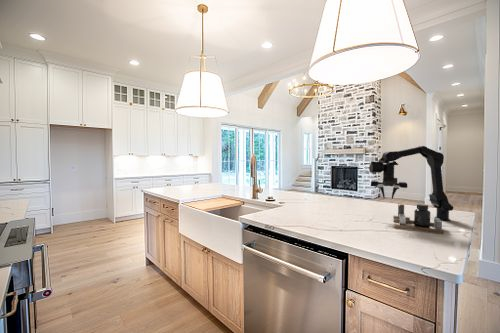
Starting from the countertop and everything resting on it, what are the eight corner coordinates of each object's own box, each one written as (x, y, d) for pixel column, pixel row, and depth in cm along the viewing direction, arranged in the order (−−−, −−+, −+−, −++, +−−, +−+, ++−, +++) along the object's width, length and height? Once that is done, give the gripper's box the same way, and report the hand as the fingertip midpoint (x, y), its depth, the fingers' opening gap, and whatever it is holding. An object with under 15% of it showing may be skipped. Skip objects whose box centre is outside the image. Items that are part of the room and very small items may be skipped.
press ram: (397, 218, 142) (398, 204, 141) (403, 218, 140) (404, 204, 140) (399, 226, 126) (399, 210, 125) (406, 227, 124) (406, 211, 124)
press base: (393, 218, 143) (393, 210, 143) (435, 222, 133) (435, 213, 133) (394, 228, 124) (394, 218, 124) (443, 234, 114) (443, 223, 114)
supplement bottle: (432, 230, 120) (433, 206, 119) (417, 229, 121) (418, 206, 121) (425, 226, 126) (426, 203, 126) (411, 225, 128) (412, 203, 127)
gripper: (370, 173, 139) (370, 199, 140) (408, 174, 130) (407, 202, 131) (371, 171, 149) (371, 196, 150) (406, 172, 140) (406, 198, 140)
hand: (388, 198), depth 142 cm, fingers open, 4 cm apart
